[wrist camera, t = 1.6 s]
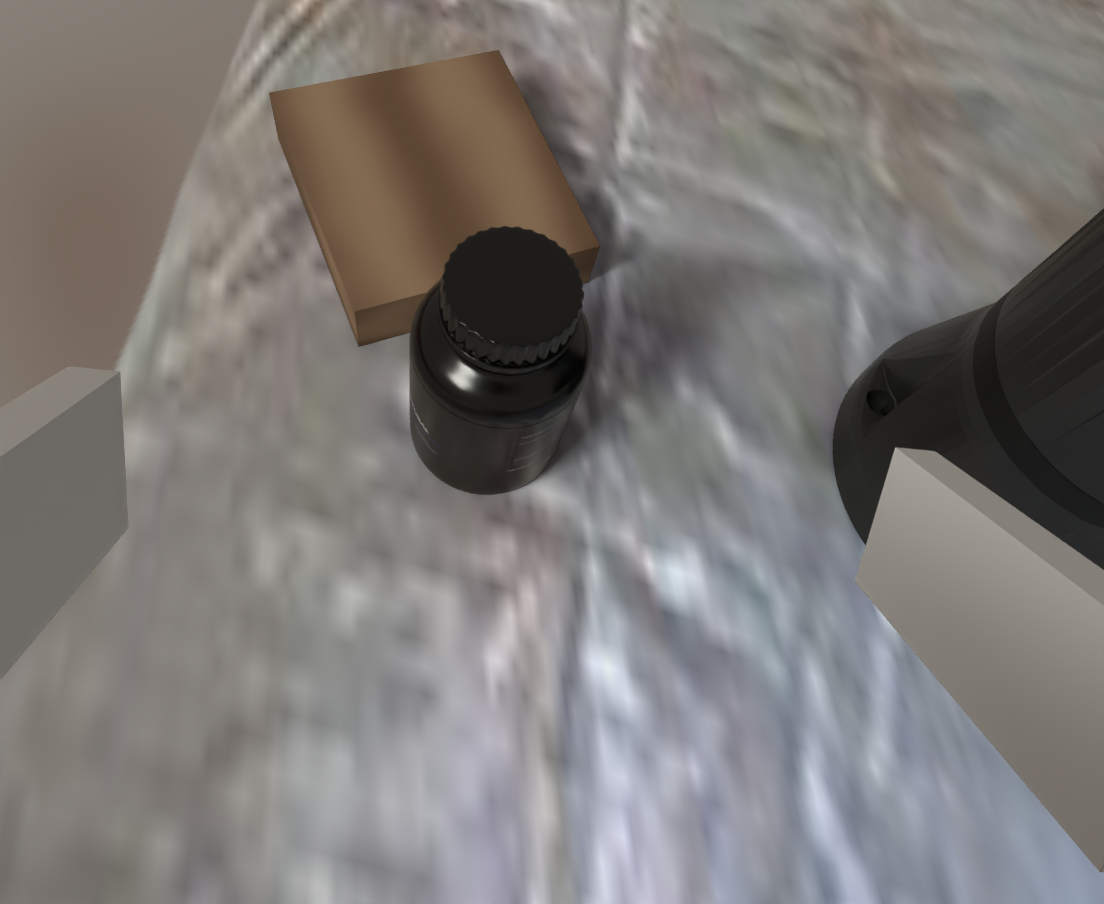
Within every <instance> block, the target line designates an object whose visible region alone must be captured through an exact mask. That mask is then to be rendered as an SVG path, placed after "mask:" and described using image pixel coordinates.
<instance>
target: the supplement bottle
mask: <svg viewBox="0 0 1104 904" xmlns="http://www.w3.org/2000/svg"><path fill="white" fill-rule="evenodd" d="M582 287H583V281H582V279H581V278H580V270H579V269H578V268H577V267H576V266H575V262H574V259H573V258H572V257H570V256H569V255H568V254H567V251H566V250H565V249H564V248H562V247H560V246H559V245H558V244H557V242H556V241H554V240H551V239H548V238H547V237H546V236H545V235H544V234H540V233H536V232H535V231H533V230H532V229H523V228H521V227H508V226H502V227H499V228H496V227H491V228H489V229H487V230H484V231H483V230H482V231H478V232H477V233H476V234H475V235H472V236H468V237H467V238H466V239H465V241H464V242H462V243H459V244H458V245H457V247H456V250H454V251H453V252H452V253H450V255H449V261H447V262H446V264H445V265H444V271H443V275H442V277H441V279H440V280H439V281H438V282H436V283H435V284H434V285H433V286H432V287H431V288H430V289H429V291H428V292H427V293H426V294H425V296H424V297H423V298H422V300H421V302H420V303H419V305H418V307H417V310H416V312H415V314H414V317H413V321H412V326H411V332H410V429H411V436H412V440H413V443H414V446H415V449H416V451H417V453H418V455H419V457H420V459H421V460H422V462H423V463H424V464H425V466H426V467H427V468H428V469H429V470H430V471H431V472H432V473H433V474H434V475H435V476H436V477H437V478H439V479H440V480H441V481H443V482H444V483H446V484H448V485H450V486H451V487H454V488H456V489H458V490H461V491H464V492H468V493H472V494H479V495H495V494H502V493H506V492H510V491H512V490H515V489H518V488H520V487H522V486H524V485H526V484H527V483H529V482H530V481H532V480H533V479H535V478H536V477H537V476H538V475H539V474H540V473H541V472H542V471H543V470H544V468H545V467H546V466H547V464H548V463H549V462H550V460H551V458H552V456H553V454H554V452H555V450H556V448H557V446H558V444H559V441H560V439H561V437H562V434H563V432H564V429H565V427H566V425H567V422H568V420H569V418H570V415H571V413H572V411H573V408H574V406H575V403H576V401H577V399H578V396H579V394H580V392H581V389H582V387H583V384H584V382H585V380H586V377H587V373H588V370H589V367H590V362H591V356H592V340H591V333H590V329H589V325H588V322H587V320H586V317H585V315H584V313H583V311H582V301H583V298H584V292H583V290H582Z"/></svg>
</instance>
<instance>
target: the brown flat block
mask: <svg viewBox="0 0 1104 904" xmlns="http://www.w3.org/2000/svg"><path fill="white" fill-rule="evenodd" d="M269 95H270V100H271V105H272V110H273V115H274V120H275V125H276V129H277V134H278V139H279V141H280V144H281V147H282V149H283V152H284V154H285V157H286V160H287V162H288V165H289V167H290V170H291V173H292V175H293V178H294V180H295V183H296V185H297V188H298V191H299V193H300V196H301V198H302V201H303V204H304V206H305V209H306V211H307V214H308V217H309V219H310V222H311V224H312V227H313V230H314V232H315V235H316V237H317V240H318V242H319V245H320V248H321V250H322V253H323V255H324V258H325V261H326V263H327V266H328V268H329V271H330V274H331V276H332V279H333V281H334V284H335V287H336V289H337V292H338V294H339V297H340V299H341V302H342V305H343V307H344V310H345V312H346V315H347V318H348V320H349V323H350V325H351V328H352V331H353V333H354V336H355V338H356V341H357V344H358V346H363V345H366V344H370V343H373V342H377V341H380V340H384V339H388V338H391V337H395V336H398V335H402V334H405V333H409V332H411V326H412V321H413V317H414V314H415V312H416V310H417V307H418V305H419V303H420V302H421V300H422V298H423V297H424V296H425V294H426V293H427V292H428V291H429V289H430V288H431V287H432V286H433V285H434V284H435V283H436V282H438V281H439V280H440V279H441V277H442V275H443V271H444V265H445V264H446V262H447V261H449V255H450V253H452V252H453V251H454V250H456V247H457V245H458V244H459V243H462V242H464V241H465V239H466V238H467V237H468V236H472V235H475V234H476V233H477V232H478V231H482V230H483V231H484V230H487V229H489V228H491V227H496V228H499V227H502V226H508V227H521V228H523V229H532V230H533V231H535V232H536V233H540V234H544V235H545V236H546V237H547V238H548V239H551V240H554V241H556V242H557V244H558V245H559V246H560V247H562V248H564V249H565V250H566V251H567V254H568V255H569V256H570V257H572V258H573V259H574V262H575V266H576V267H577V268H578V269H579V270H580V278H581V279H582V281H583V284H584V283H587V282H588V281H589V278H590V275H591V272H592V269H593V266H594V263H595V260H596V257H597V254H598V251H599V248H600V245H599V243H598V241H597V239H596V237H595V235H594V233H593V231H592V229H591V227H590V226H589V224H588V222H587V220H586V218H585V216H584V214H583V212H582V210H581V208H580V206H579V204H578V202H577V200H576V198H575V197H574V195H573V193H572V191H571V189H570V187H569V185H568V183H567V181H566V179H565V177H564V175H563V173H562V171H561V169H560V168H559V166H558V164H557V162H556V160H555V158H554V156H553V154H552V152H551V150H550V148H549V146H548V144H547V142H546V140H545V139H544V137H543V135H542V133H541V131H540V129H539V127H538V125H537V123H536V121H535V119H534V117H533V115H532V113H531V111H530V110H529V108H528V106H527V104H526V102H525V100H524V98H523V96H522V94H521V92H520V90H519V88H518V86H517V84H516V83H515V81H514V79H513V77H512V75H511V73H510V71H509V69H508V67H507V65H506V63H505V61H504V59H503V57H502V55H501V54H500V52H499V50H496V51H491V52H486V53H480V54H475V55H470V56H464V57H459V58H454V59H448V60H443V61H437V62H432V63H427V64H421V65H416V66H411V67H405V68H400V69H394V70H389V71H384V72H378V73H373V74H368V75H362V76H357V77H351V78H346V79H341V80H335V81H330V82H325V83H319V84H314V85H308V86H303V87H298V88H292V89H287V90H282V91H276V92H271V93H269Z"/></svg>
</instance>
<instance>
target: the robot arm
mask: <svg viewBox="0 0 1104 904" xmlns="http://www.w3.org/2000/svg"><path fill="white" fill-rule="evenodd" d="M833 463H834V470H835V476H836V480H837V485H838V488H839V492H840V495H841V498H842V501H843V504H844V506H845V509H846V511H847V513H848V515H849V518H850V520H851V522H852V523H853V525H854V527H855V529H856V531H857V532H858V534H859V536H860V537H861V539H862V541H863V542H864V543H865V545H866V547H865V550H864V553H863V557H862V560H861V563H860V567H859V570H858V573H857V577H856V580H855V582H856V583H857V585H858V586H859V587H860V588H861V589H862V590H863V592H864V593H865V594H866V595H867V596H868V598H869V599H870V600H871V601H872V602H873V604H874V605H875V606H876V607H877V608H878V609H879V611H880V612H881V613H882V614H883V615H884V617H885V618H886V619H887V620H888V621H889V623H890V624H891V625H892V626H893V627H894V628H895V630H896V631H897V632H898V633H899V634H900V636H901V637H902V638H903V639H904V640H905V642H906V643H907V644H908V645H909V646H910V647H911V649H912V650H913V651H914V652H915V653H916V655H917V656H918V657H919V658H920V659H921V661H922V662H923V663H924V664H925V665H926V666H927V668H928V669H929V670H930V671H931V672H932V674H933V675H934V676H935V677H936V678H937V680H938V681H939V682H940V683H941V684H942V685H943V687H944V688H945V689H946V690H947V691H948V693H949V694H950V695H951V696H952V697H953V699H954V700H955V701H956V702H957V703H958V704H959V706H960V707H961V708H962V709H963V710H964V712H965V713H966V714H967V715H968V716H969V718H970V719H971V720H972V721H973V722H974V723H975V725H976V726H977V727H978V728H979V729H980V731H981V732H982V733H983V734H984V735H985V737H986V738H987V739H988V740H989V741H990V742H991V744H992V745H993V746H994V747H995V748H996V750H997V751H998V752H999V753H1000V754H1001V756H1002V757H1003V758H1004V759H1005V760H1006V761H1007V763H1008V764H1009V765H1010V766H1011V767H1012V769H1013V770H1014V771H1015V772H1016V773H1017V774H1018V776H1019V777H1020V778H1021V779H1022V780H1023V782H1024V783H1025V784H1026V785H1027V786H1028V788H1029V789H1030V790H1031V791H1032V792H1033V793H1034V795H1035V796H1036V797H1037V798H1038V799H1039V801H1040V802H1041V803H1042V804H1043V805H1044V807H1045V808H1046V809H1047V810H1048V811H1049V812H1050V814H1051V815H1052V816H1053V817H1054V818H1055V820H1056V821H1057V822H1058V823H1059V824H1060V826H1061V827H1062V828H1063V829H1064V830H1065V831H1066V833H1067V834H1068V835H1069V836H1070V837H1071V839H1072V840H1073V841H1074V842H1075V843H1076V845H1077V846H1078V847H1079V848H1080V849H1081V850H1082V852H1083V853H1084V854H1085V855H1086V856H1087V858H1088V859H1089V860H1090V861H1091V862H1092V864H1093V865H1094V866H1095V867H1096V868H1097V869H1098V871H1099V872H1104V209H1103V210H1101V211H1100V212H1099V213H1098V214H1097V215H1096V216H1095V217H1093V218H1092V219H1091V220H1090V221H1089V222H1088V223H1087V224H1086V225H1084V226H1083V227H1082V228H1081V229H1080V230H1079V231H1078V232H1076V233H1075V234H1074V235H1073V236H1072V237H1071V238H1070V239H1069V240H1067V241H1066V242H1065V243H1064V244H1063V245H1062V246H1061V247H1059V248H1058V249H1057V250H1056V251H1055V252H1054V253H1053V254H1051V255H1050V256H1049V257H1048V258H1047V259H1046V260H1045V261H1043V262H1042V263H1041V264H1040V265H1039V266H1037V267H1036V268H1035V269H1034V270H1033V271H1032V272H1030V273H1029V274H1028V275H1027V276H1026V277H1025V278H1023V279H1022V280H1021V281H1020V282H1019V283H1018V284H1017V285H1016V286H1015V287H1014V288H1012V289H1011V290H1010V291H1009V292H1008V293H1007V294H1005V295H1004V296H1003V297H1002V298H1001V299H1000V300H998V301H997V302H996V303H994V304H991V305H988V306H985V307H983V308H980V309H977V310H975V311H972V312H969V313H966V314H964V315H961V316H958V317H956V318H953V319H950V320H947V321H945V322H942V323H939V324H936V325H934V326H931V327H928V328H926V329H923V330H920V331H918V332H915V333H913V334H911V335H909V336H907V337H905V338H904V339H902V340H900V341H899V342H897V343H896V344H894V345H892V346H891V347H890V348H888V349H887V350H886V351H885V352H884V353H883V354H882V355H880V356H879V357H878V358H877V359H876V360H875V361H874V362H873V363H872V364H871V365H870V366H869V367H868V368H867V369H866V370H865V371H864V372H863V373H862V374H861V375H860V376H859V377H858V378H857V379H856V380H855V382H854V383H853V385H852V386H851V387H850V389H849V390H848V392H847V394H846V395H845V398H844V400H843V402H842V404H841V406H840V409H839V412H838V415H837V419H836V423H835V428H834V436H833ZM127 529H128V512H127V493H126V474H125V455H124V436H123V417H122V398H121V379H120V372H119V371H109V370H98V369H88V368H78V367H67V368H65V369H64V370H62V371H60V372H59V373H57V374H55V375H54V376H52V377H51V378H49V379H47V380H46V381H44V382H42V383H41V384H39V385H37V386H36V387H34V388H32V389H31V390H29V391H27V392H26V393H24V394H22V395H21V396H19V397H17V398H16V399H14V400H13V401H11V402H9V403H8V404H6V405H4V406H3V407H1V408H0V680H1V679H2V678H3V676H4V675H5V674H6V673H7V672H8V670H9V669H10V668H11V667H12V666H13V664H14V663H15V662H16V661H17V660H18V658H19V657H20V656H21V655H22V654H23V653H24V651H25V650H26V649H27V648H28V647H29V645H30V644H31V643H32V642H33V641H34V639H35V638H36V637H37V636H38V635H39V634H40V632H41V631H42V630H43V629H44V628H45V626H46V625H47V624H48V623H49V622H50V620H51V619H52V618H53V617H54V616H55V614H56V613H57V612H58V611H59V610H60V609H61V607H62V606H63V605H64V604H65V603H66V601H67V600H68V599H69V598H70V597H71V595H72V594H73V593H74V592H75V591H76V590H77V588H78V587H79V586H80V585H81V584H82V582H83V581H84V580H85V579H86V578H87V576H88V575H89V574H90V573H91V572H92V570H93V569H94V568H95V567H96V566H97V565H98V563H99V562H100V561H101V560H102V559H103V557H104V556H105V555H106V554H107V553H108V551H109V550H110V549H111V548H112V547H113V546H114V544H115V543H116V542H117V541H118V540H119V538H120V537H121V536H122V535H123V534H124V532H125V531H126V530H127Z"/></svg>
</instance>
